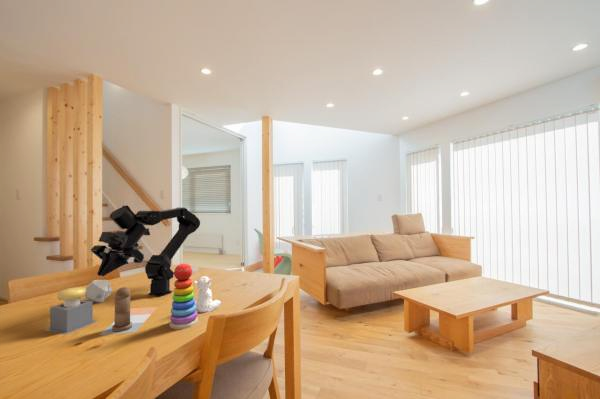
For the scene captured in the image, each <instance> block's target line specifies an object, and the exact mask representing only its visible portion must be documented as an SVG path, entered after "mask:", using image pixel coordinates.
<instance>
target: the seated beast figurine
mask: <svg viewBox="0 0 600 399" xmlns="http://www.w3.org/2000/svg"><path fill="white" fill-rule="evenodd" d="M193 283H194V285H195V286H197V289H199V291H198V294H197V300H195V306H196V311H197V313H207V312H208V313H211V312H212V311H214V310H216V309H217V308H219V307H220V306H221V303H222V302H221V300H219V299H214V300H213V291H212V290H211V289H210V287H211V285H212V278H209V277H208V276H207V275H204V276H201V277H199V278H198V279H197V280H194V281H193Z"/></svg>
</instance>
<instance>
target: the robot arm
mask: <svg viewBox="0 0 600 399" xmlns="http://www.w3.org/2000/svg"><path fill="white" fill-rule="evenodd" d="M174 218H176V221H177V223H178V230H177V231H176V233H175V234H174V235H173V237H172V238H171V239H170V241H169V242H168V244H166V246H165V247H164V248H163V249H162V251H161V252H160V253H159V254H152V255H151V257H150V258H149V260H147V261H146V265H145V266H144V272H145V275H146V276H147V279H148V280H150V279H151V281H150V285H149V286H150V287H149V289H150V292H149V293H147V294H148V296H154V297H162V296H165V295H168V294H171V293H173V290H170V287H171V286H170V284H171V283H170V281H171V279H173V278H174V271H173V270H172V269H171V266H172V259H173V257H174V256H175V254H176V253H177V252H178V251H179V249H180V248H181V247H182V245H183V244H184V242H185V241H186V239H187V238H188V237H189V235H191V234H194V232H196V231H197V230H198V229H199V227H200V226H201V220H200V219H199V217H197V215H196V214H194V213H192V212H191V211H189V210H188V208H186V207H176V208H169V209H168V208H167V209H162V210H138V211H137V212H136V213H134V211H133V210H132V209H131V207H130V206H128V205H123V206H121V207H119V208H117V209H115V210H113V211H112V212H111V213H110V214H109V219H110V220H112V221H113V223H114V224H116V225H117V226H118V227H119V229H121V230H124V232H123V231H121V230H120V231H119V230H118V231H116V232H112V231H102V233H101V234H100V236H99V239H98V242H99V243H100V242H101V243H105V244H107V246H106V245H102V244H97V245H94V246H93V247H91V249H90V252H91V253H92V254H94V255H95V256H96V257H98V258H99V259H100V260H101V263H100V265H99V268H98V270H97V273H96V274H97V275H98V277H104V276H106V275H108V274H110V273H112V272H114V271H116V270H117V269H119V268H121V267H123V266H125V265H128V264H129V262H128V261H129V259H132V258H133V263H135V264H141V263H142V262H143V261H144V259H145V255H144V254H143V253H142V251H141V250H139V248H137V247H139V242H140V240H141V238H143V236H151V233H150V228H148V227H147V228H146V227H145V226H155V225H158V224H159V223H161V222H163V221H165V220H169V219H174Z"/></svg>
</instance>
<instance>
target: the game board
mask: <svg viewBox="0 0 600 399" xmlns="http://www.w3.org/2000/svg"><path fill="white" fill-rule="evenodd" d="M157 308H158V306H150V307H149V306H148V307H147V306H146V307H135V308H134V307H133V308H131V307H130V322H132V328H130V329H129V330H126V331H122V332H113V331H112V326H113V325H114V323H115V321H113V322H112V323H111V324H110V325H109V326H107V328H105V329H104V330H103V331H102V332H100V333H98V334H99V336H105V335H120V334H129V333H130V334H132V333H136V332H137V330H138V329H140V327H141V326H142V325H143V324H144V323H145V322H146V321H147V320H148V318H149V317H150V316H151V315H152V314H153V313H154V312H155V311H156V310H157Z"/></svg>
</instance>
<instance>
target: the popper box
mask: <svg viewBox="0 0 600 399" xmlns="http://www.w3.org/2000/svg"><path fill="white" fill-rule="evenodd" d="M93 304H94V303H93V302H92V301H87V300H84V299H80V305H77V306H74V307H70V308H66V307H64V302H63V303H61V304H56V305H54V306H50V308H49V312H50V313H49V327H48V328H46V329H44V331H45V332H52V333H54V334H55V333H56V334H61V335H67V334H71V333H73V332H76V331H78V330H80V329H83V328H85V327H88V326H90V325H93V324H95V323H97V322H99V320H93V316H94V315H93V312H94V310H93V308H94V307H93Z"/></svg>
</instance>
